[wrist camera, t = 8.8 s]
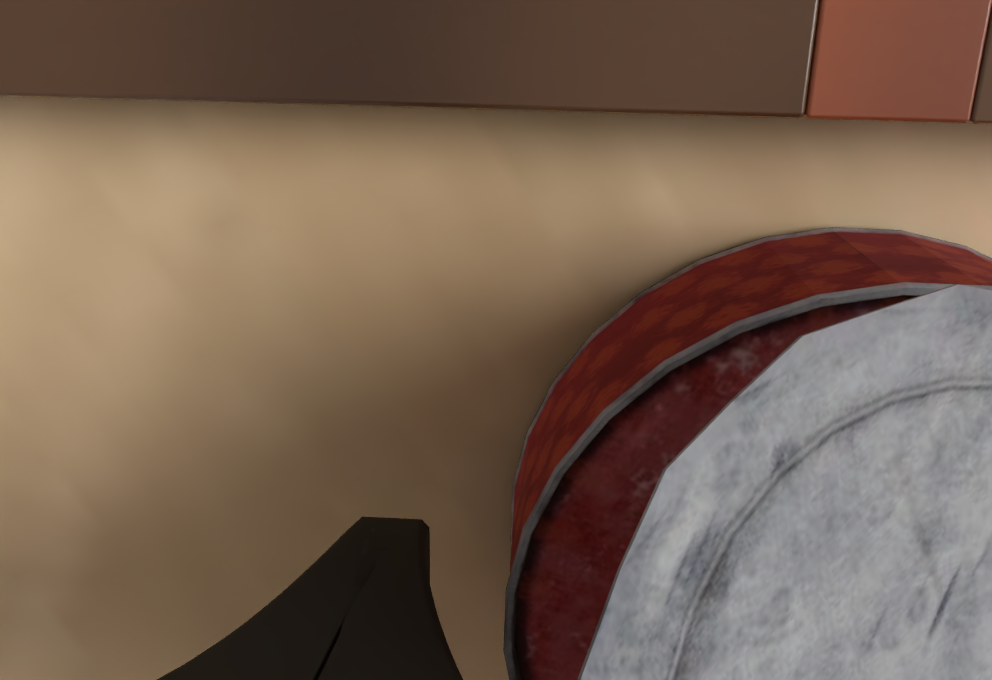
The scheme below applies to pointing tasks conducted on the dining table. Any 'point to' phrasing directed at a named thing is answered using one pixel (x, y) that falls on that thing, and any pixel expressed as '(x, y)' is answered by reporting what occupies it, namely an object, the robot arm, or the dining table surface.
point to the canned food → (767, 474)
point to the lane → (517, 55)
